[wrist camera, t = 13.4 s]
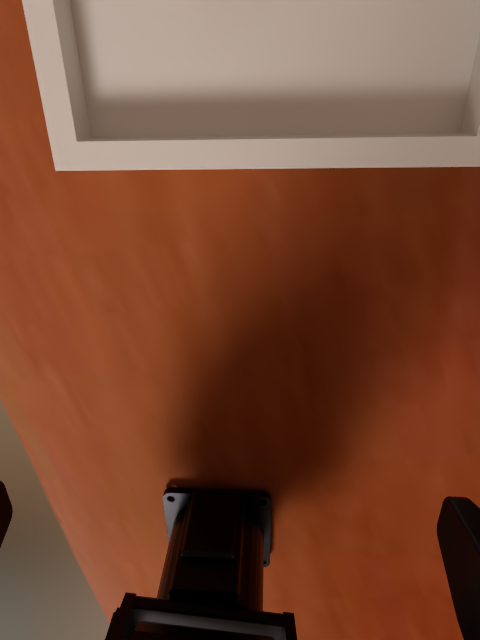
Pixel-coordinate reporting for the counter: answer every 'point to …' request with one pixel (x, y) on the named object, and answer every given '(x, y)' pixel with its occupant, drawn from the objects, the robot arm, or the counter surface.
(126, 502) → the counter surface
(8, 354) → the counter surface
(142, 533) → the counter surface
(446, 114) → the tray
